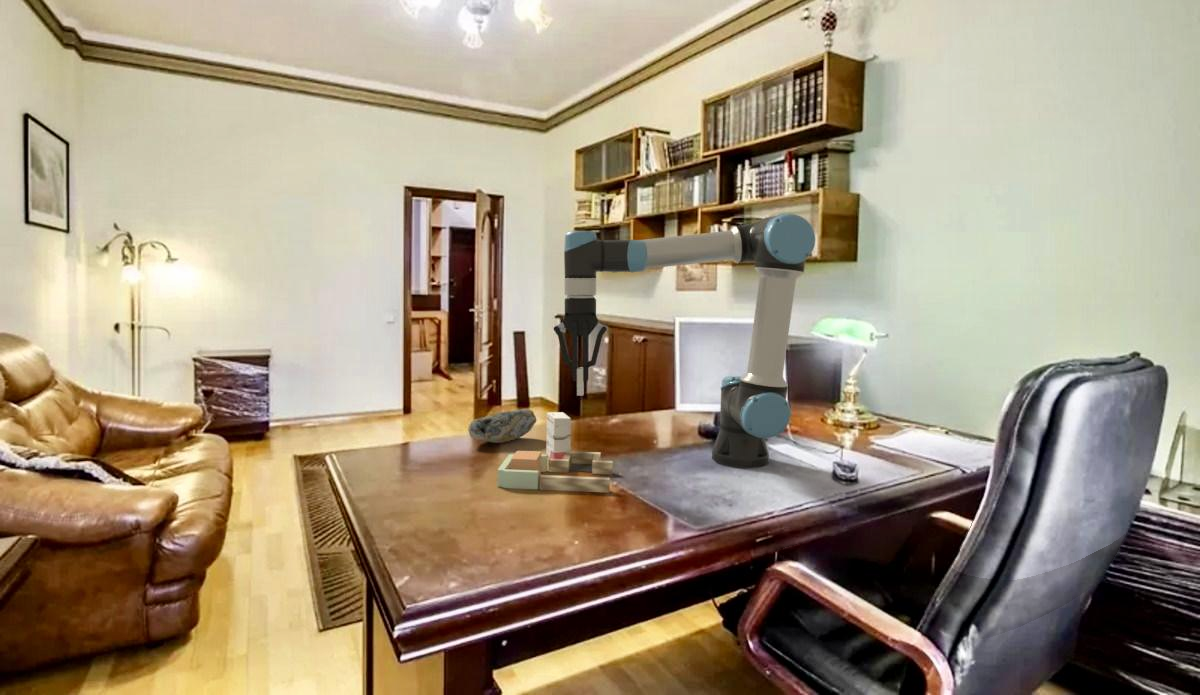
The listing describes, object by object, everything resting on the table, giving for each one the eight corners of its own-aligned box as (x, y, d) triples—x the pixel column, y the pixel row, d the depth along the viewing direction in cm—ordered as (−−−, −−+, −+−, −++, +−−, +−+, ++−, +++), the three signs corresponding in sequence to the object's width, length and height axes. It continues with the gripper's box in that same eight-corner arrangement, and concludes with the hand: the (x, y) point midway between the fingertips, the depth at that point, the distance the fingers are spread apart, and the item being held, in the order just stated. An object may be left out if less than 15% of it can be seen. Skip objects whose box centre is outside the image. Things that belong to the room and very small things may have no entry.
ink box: (571, 461, 172) (572, 417, 171) (553, 463, 170) (554, 418, 169) (562, 452, 180) (563, 411, 179) (545, 454, 179) (546, 411, 177)
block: (540, 475, 160) (541, 451, 159) (536, 484, 153) (536, 459, 152) (516, 474, 160) (516, 450, 160) (511, 483, 154) (511, 458, 153)
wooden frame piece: (613, 464, 170) (614, 452, 170) (609, 492, 148) (609, 479, 148) (553, 461, 171) (553, 450, 171) (539, 489, 149) (539, 476, 149)
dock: (547, 470, 164) (547, 454, 164) (537, 489, 149) (537, 472, 149) (510, 468, 165) (510, 453, 164) (496, 487, 150) (496, 470, 149)
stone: (461, 442, 189) (461, 408, 188) (529, 434, 200) (529, 402, 198) (473, 451, 180) (473, 416, 178) (543, 443, 190) (544, 409, 189)
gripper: (608, 296, 158) (607, 392, 161) (554, 296, 159) (555, 391, 161) (607, 297, 150) (606, 397, 153) (551, 297, 151) (551, 397, 154)
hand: (580, 394), depth 157 cm, fingers closed
